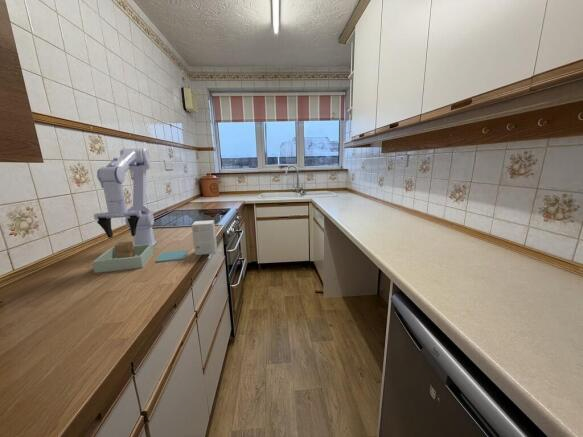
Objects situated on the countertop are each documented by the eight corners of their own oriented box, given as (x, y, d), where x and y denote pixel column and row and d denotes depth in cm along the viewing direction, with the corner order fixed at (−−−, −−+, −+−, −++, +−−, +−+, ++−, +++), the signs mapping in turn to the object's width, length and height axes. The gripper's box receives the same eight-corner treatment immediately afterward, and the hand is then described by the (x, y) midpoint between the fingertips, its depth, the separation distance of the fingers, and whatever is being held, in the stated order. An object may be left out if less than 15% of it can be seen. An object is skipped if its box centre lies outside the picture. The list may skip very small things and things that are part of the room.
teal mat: (162, 253, 102) (161, 252, 102) (187, 250, 104) (187, 249, 104) (155, 262, 92) (155, 261, 92) (183, 259, 95) (183, 258, 95)
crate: (113, 258, 99) (111, 247, 98) (154, 253, 102) (152, 243, 101) (94, 273, 85) (92, 261, 84) (142, 268, 88) (140, 256, 87)
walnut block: (122, 256, 95) (119, 242, 93) (135, 255, 96) (132, 241, 94) (117, 261, 90) (114, 245, 89) (130, 259, 92) (128, 244, 90)
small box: (217, 248, 106) (214, 219, 103) (215, 253, 100) (212, 223, 97) (198, 250, 105) (194, 220, 102) (194, 255, 99) (191, 224, 96)
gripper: (86, 203, 82) (94, 241, 85) (134, 201, 86) (140, 237, 89) (96, 200, 89) (103, 235, 92) (140, 198, 93) (146, 232, 96)
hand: (122, 236), depth 91 cm, fingers open, 7 cm apart
